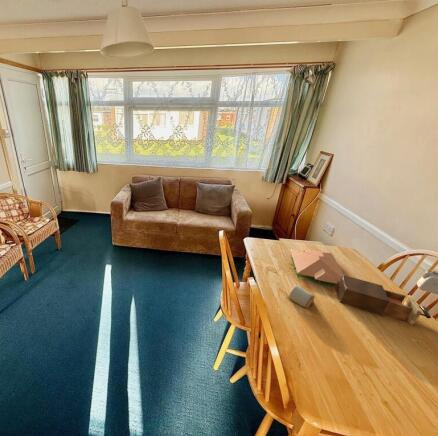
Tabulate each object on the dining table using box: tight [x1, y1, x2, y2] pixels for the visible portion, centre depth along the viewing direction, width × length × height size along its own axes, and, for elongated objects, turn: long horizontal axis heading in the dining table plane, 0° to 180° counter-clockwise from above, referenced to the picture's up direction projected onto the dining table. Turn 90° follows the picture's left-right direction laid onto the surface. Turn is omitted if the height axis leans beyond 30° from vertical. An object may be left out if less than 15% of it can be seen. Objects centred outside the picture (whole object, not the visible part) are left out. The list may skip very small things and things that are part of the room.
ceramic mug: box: [288, 285, 315, 309], centre depth 108 cm, size 11×8×8 cm
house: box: [290, 247, 345, 288], centre depth 131 cm, size 23×33×8 cm
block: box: [388, 297, 403, 305], centre depth 101 cm, size 4×4×4 cm
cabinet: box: [335, 274, 390, 316], centre depth 107 cm, size 15×12×10 cm
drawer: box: [382, 289, 432, 325], centre depth 100 cm, size 18×10×8 cm, turn 58°
